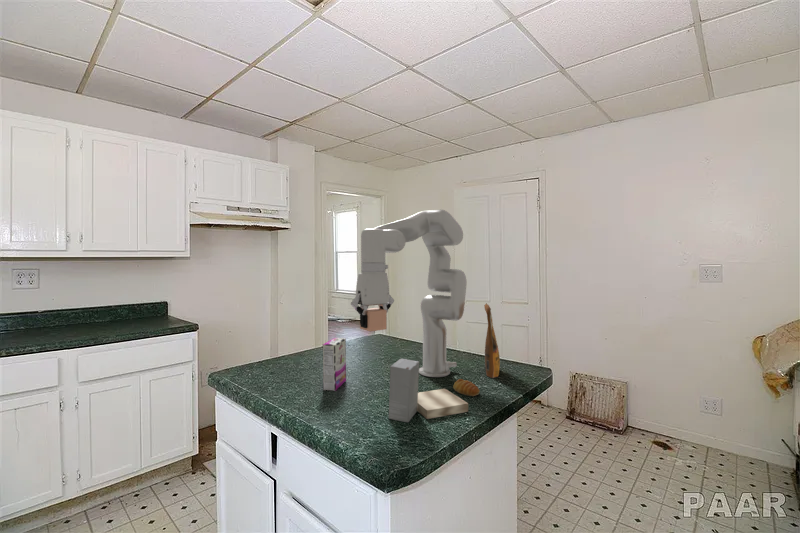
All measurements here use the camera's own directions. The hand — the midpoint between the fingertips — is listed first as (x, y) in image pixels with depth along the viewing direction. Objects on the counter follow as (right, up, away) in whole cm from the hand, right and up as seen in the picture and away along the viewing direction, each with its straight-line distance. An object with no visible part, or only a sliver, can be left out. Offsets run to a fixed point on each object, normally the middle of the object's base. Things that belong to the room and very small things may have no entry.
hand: (373, 325), depth 117 cm
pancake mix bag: (+46, -25, +36) cm, 63 cm away
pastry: (+32, -26, +14) cm, 43 cm away
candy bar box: (-15, -25, +19) cm, 35 cm away
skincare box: (+10, -26, -7) cm, 28 cm away
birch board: (+20, -25, 0) cm, 32 cm away
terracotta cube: (0, -1, 0) cm, 1 cm away
